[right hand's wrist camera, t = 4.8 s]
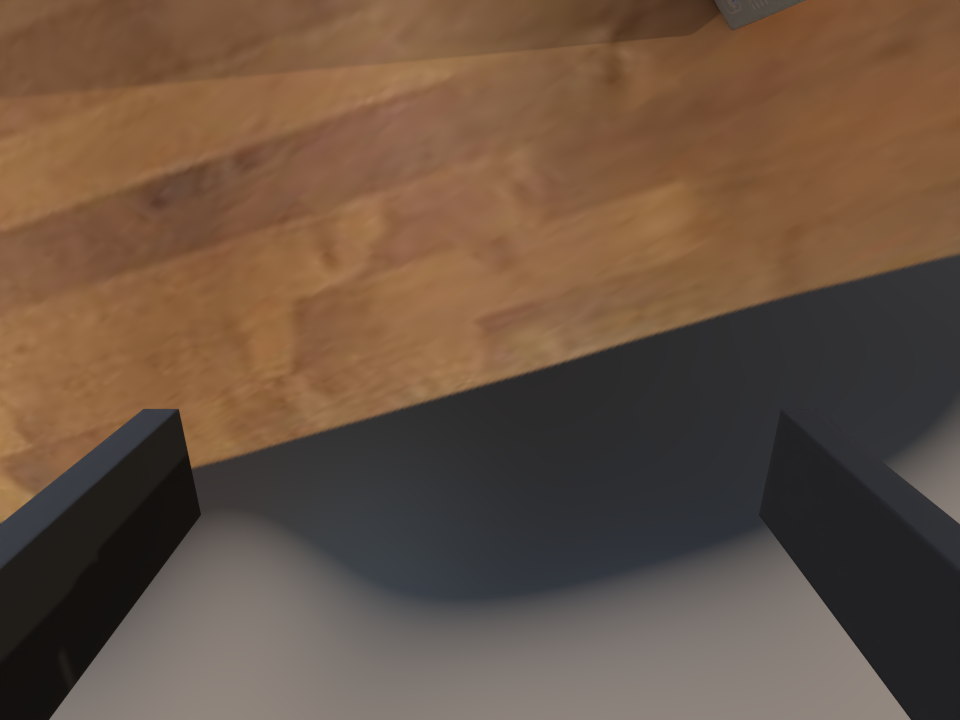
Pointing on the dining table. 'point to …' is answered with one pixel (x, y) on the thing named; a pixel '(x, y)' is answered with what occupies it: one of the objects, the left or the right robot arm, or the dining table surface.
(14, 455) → the dining table surface
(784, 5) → the hard drive box
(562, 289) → the dining table surface
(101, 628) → the right robot arm
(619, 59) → the dining table surface
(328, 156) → the dining table surface
